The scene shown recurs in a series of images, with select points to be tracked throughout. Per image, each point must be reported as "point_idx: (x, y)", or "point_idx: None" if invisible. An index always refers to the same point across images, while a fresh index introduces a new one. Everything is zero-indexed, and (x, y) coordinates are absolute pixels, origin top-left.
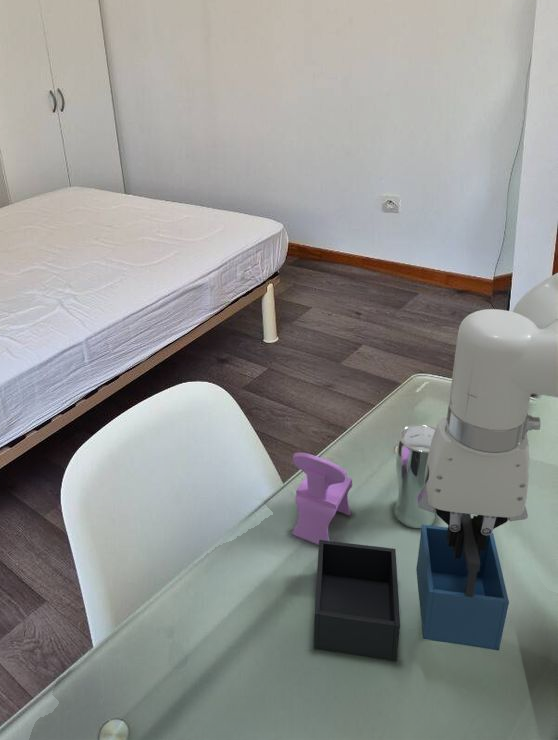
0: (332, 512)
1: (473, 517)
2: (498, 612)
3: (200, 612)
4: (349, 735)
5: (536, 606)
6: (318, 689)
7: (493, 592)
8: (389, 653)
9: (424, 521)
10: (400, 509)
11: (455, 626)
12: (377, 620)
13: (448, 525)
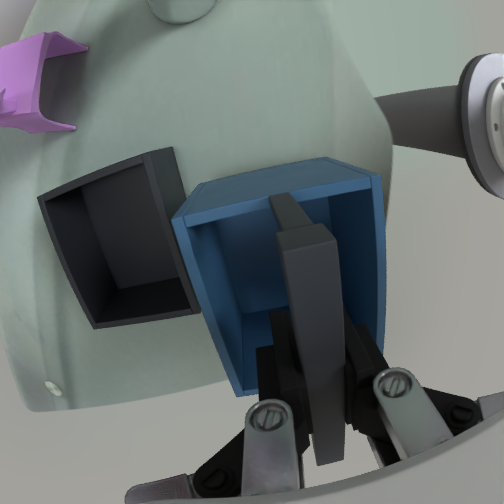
0: (36, 117)
1: (355, 370)
2: None
3: (18, 289)
4: (188, 358)
5: (380, 116)
6: (143, 330)
7: (353, 272)
8: None
9: (201, 10)
10: (155, 9)
11: None
12: (167, 316)
13: (258, 387)
